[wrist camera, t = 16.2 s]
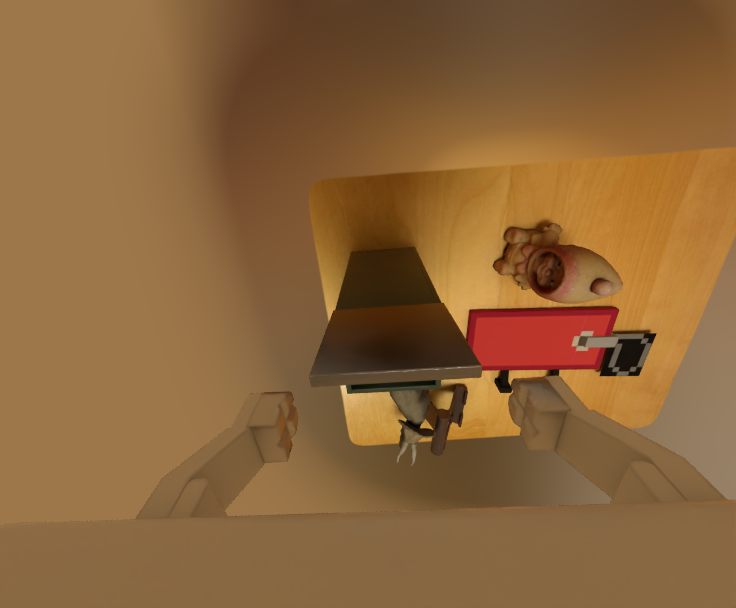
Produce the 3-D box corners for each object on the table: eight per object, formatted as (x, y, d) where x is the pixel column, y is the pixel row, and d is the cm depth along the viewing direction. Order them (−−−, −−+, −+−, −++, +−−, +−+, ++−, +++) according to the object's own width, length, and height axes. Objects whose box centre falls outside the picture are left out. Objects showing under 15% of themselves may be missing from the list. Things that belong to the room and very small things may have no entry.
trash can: (416, 304, 47) (440, 388, 29) (357, 309, 48) (347, 394, 30) (414, 246, 43) (442, 304, 25) (350, 252, 44) (334, 311, 26)
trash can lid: (481, 378, 16) (482, 365, 16) (310, 387, 17) (308, 375, 16) (443, 310, 25) (443, 302, 25) (334, 318, 26) (333, 310, 25)
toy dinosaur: (368, 320, 49) (367, 362, 38) (419, 310, 48) (431, 350, 37) (394, 416, 58) (398, 469, 48) (437, 409, 57) (451, 462, 47)
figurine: (505, 215, 41) (603, 244, 28) (549, 218, 42) (660, 247, 30) (486, 282, 45) (562, 333, 32) (527, 282, 47) (615, 331, 34)
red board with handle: (630, 380, 52) (662, 304, 46) (643, 391, 50) (679, 312, 44) (460, 382, 54) (468, 308, 48) (464, 393, 51) (473, 316, 45)
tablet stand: (458, 418, 58) (471, 457, 50) (418, 418, 58) (425, 456, 50) (465, 383, 54) (480, 419, 46) (422, 382, 54) (430, 418, 46)
